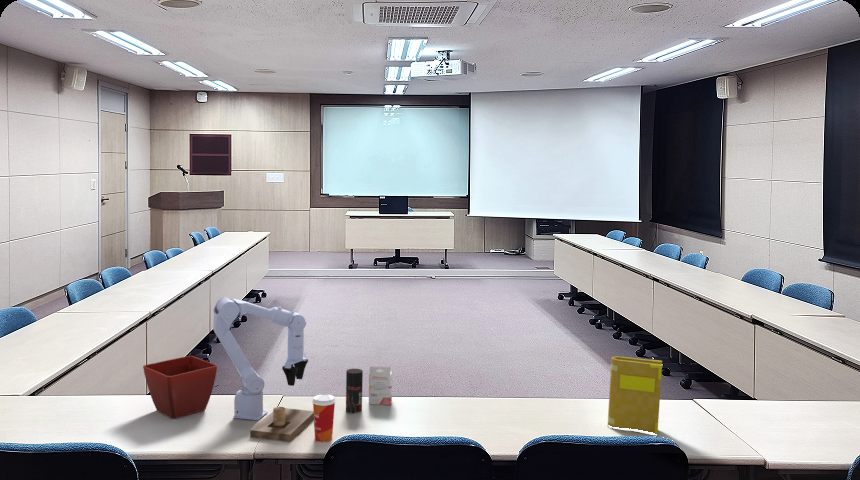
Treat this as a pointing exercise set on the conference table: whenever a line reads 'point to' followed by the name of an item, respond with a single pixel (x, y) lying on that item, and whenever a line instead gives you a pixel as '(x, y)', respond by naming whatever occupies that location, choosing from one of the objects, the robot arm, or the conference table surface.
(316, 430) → the paper cup
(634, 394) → the book
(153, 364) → the plant pot
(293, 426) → the socket board
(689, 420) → the conference table surface
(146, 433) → the conference table surface
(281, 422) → the peg
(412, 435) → the conference table surface
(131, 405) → the conference table surface
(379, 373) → the ink cartridge box
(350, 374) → the deodorant
